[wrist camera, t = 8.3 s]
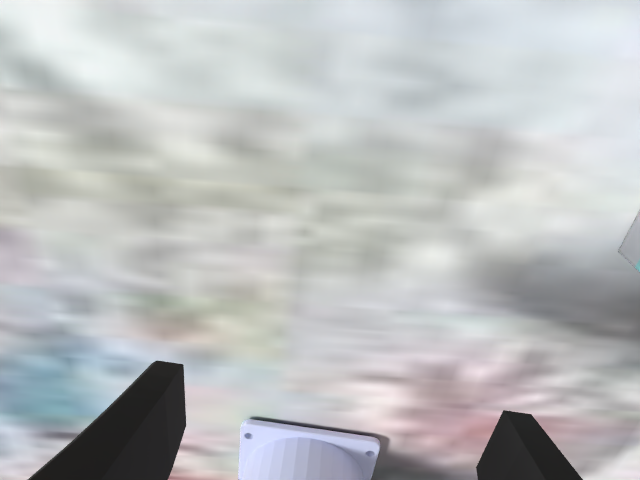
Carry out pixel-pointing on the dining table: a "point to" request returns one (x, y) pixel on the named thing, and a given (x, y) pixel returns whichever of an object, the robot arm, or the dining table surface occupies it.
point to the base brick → (632, 244)
